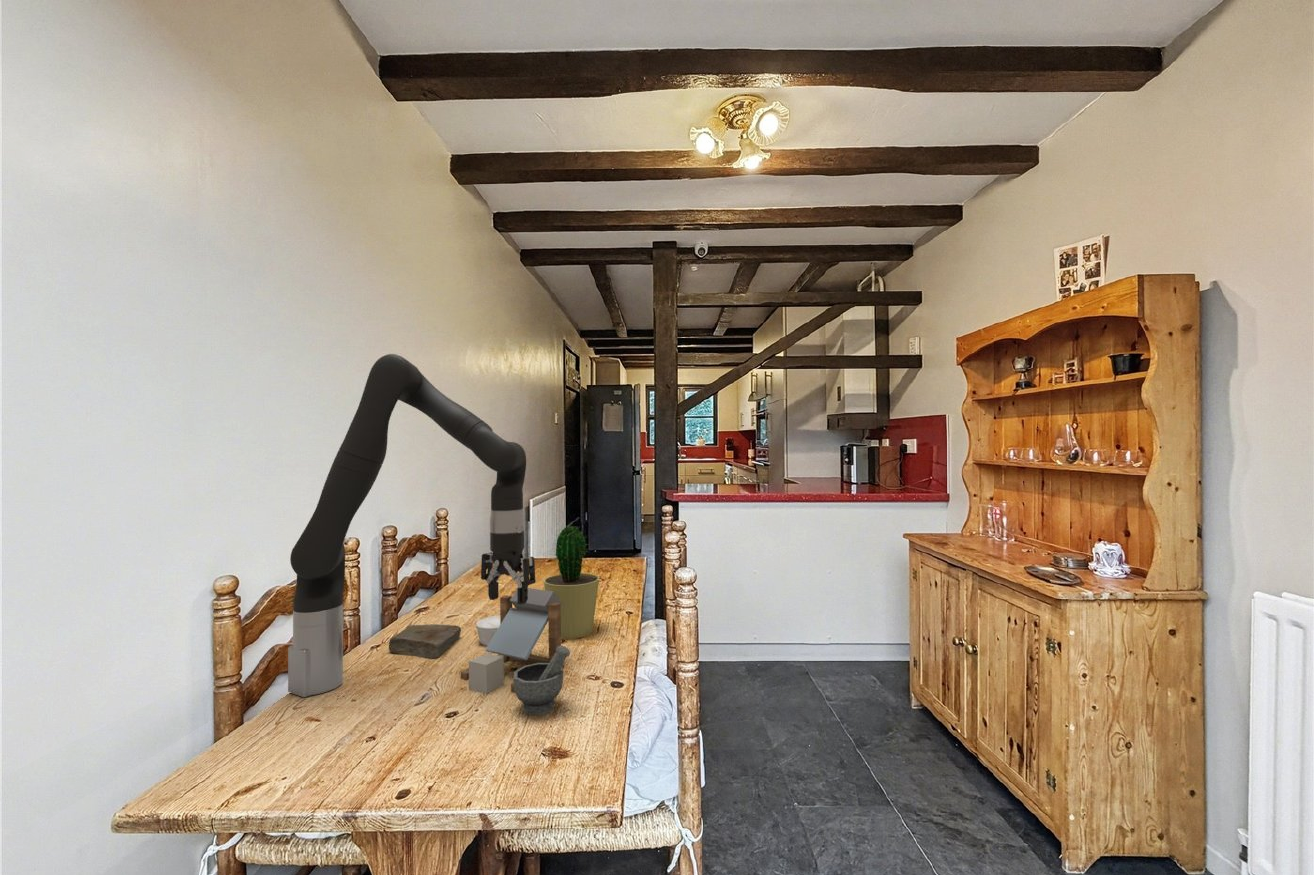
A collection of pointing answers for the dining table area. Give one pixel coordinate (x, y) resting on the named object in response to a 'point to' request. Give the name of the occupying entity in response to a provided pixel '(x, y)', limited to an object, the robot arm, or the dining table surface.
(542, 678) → the mortar and pestle
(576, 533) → the potted cactus
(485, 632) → the ramekin
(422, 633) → the dark stone slab
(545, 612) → the trapdoor
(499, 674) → the grey block
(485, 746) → the dining table surface
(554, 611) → the frame
